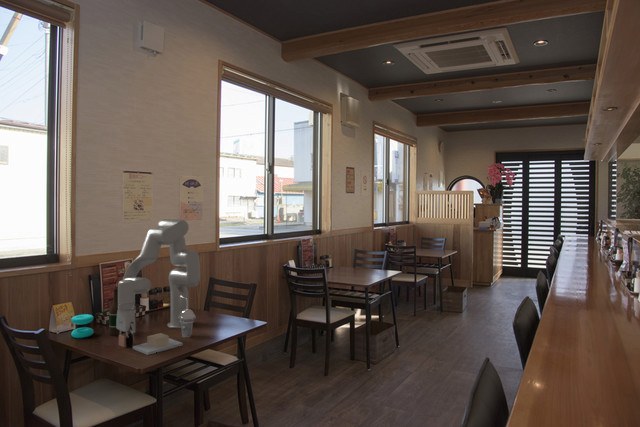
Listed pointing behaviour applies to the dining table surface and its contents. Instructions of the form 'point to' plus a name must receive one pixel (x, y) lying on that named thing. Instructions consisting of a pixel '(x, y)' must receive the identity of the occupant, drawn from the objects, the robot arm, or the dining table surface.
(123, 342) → the terracotta block
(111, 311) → the beer bottle
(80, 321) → the turquoise yo-yo
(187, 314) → the cup with straw
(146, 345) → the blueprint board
